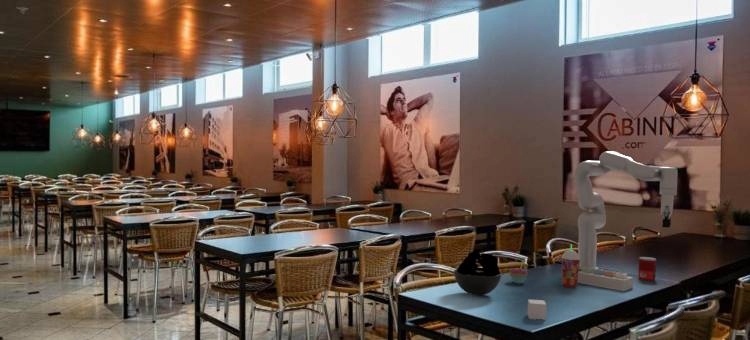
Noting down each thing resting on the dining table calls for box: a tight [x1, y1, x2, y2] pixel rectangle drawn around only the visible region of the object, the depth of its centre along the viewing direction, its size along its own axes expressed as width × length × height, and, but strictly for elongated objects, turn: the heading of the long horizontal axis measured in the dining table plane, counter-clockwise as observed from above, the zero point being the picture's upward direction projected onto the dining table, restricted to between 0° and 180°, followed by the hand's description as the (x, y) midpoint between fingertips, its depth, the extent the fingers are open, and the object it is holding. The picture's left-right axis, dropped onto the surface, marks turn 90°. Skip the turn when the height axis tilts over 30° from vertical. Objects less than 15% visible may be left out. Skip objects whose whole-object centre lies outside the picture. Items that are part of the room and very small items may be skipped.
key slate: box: [593, 268, 606, 275], centre depth 286 cm, size 4×4×4 cm
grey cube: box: [526, 299, 547, 321], centre depth 222 cm, size 6×6×6 cm
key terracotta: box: [604, 270, 617, 277], centre depth 283 cm, size 4×4×4 cm
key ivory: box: [615, 271, 628, 279], centre depth 279 cm, size 4×4×4 cm
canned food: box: [637, 256, 657, 282], centre depth 302 cm, size 8×8×11 cm
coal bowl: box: [453, 249, 502, 297], centre depth 254 cm, size 20×20×19 cm
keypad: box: [577, 270, 634, 292], centre depth 284 cm, size 23×11×5 cm, turn 46°
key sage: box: [582, 267, 594, 273], centre depth 290 cm, size 4×4×4 cm
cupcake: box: [509, 259, 528, 284], centre depth 283 cm, size 9×8×12 cm
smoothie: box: [561, 244, 580, 289], centre depth 279 cm, size 8×8×20 cm
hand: (666, 226), depth 291 cm, fingers open, 9 cm apart
